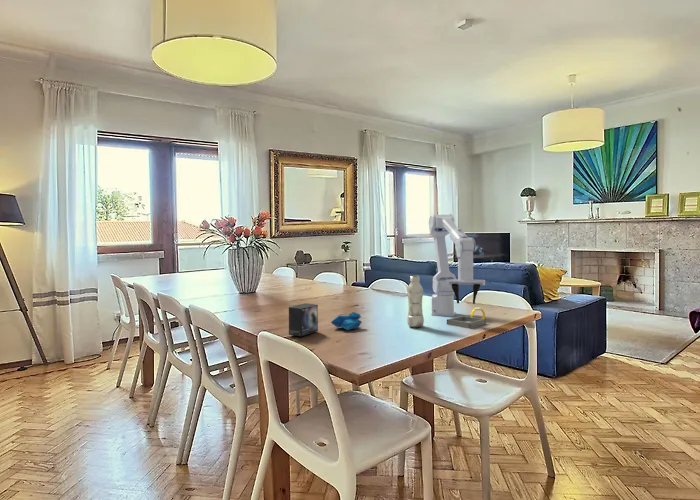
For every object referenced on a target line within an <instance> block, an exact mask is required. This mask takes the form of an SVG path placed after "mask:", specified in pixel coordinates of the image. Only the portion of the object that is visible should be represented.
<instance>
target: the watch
mask: <svg viewBox="0 0 700 500" xmlns="http://www.w3.org/2000/svg"><path fill="white" fill-rule="evenodd" d="M476 311H481V312H482V317H481V318H482V319H486V312H485V311H484V309H483V308H482V307H479V306H478V307H473V309H472V310H471V312H470V317H474V313H475V312H476Z"/></svg>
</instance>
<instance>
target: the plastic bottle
mask: <svg viewBox="0 0 700 500" xmlns="http://www.w3.org/2000/svg"><path fill="white" fill-rule="evenodd" d="M409 277H410V278H409V281H410V283H409V284H408V286H407V288H406V295H407V299H408V300H407V303H408V309H407V310H408V313H407V320H406V321H407V325H408V327H410V328H422V327H423V326H424V322H425V319H424V314H423V295H424V287H423V285H421V282H420V281H421V279H420V275H410V276H409Z"/></svg>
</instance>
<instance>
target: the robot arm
mask: <svg viewBox="0 0 700 500" xmlns="http://www.w3.org/2000/svg"><path fill="white" fill-rule="evenodd" d="M428 226H429V235H432V236H433V242H434V249H435V250H434V251H435V258H436V266H437V273H436V274H435V275H434V276H433V277H432V291H433V292H434V293H433V294H432V295H431V315H432V316H438V317H439V316H443V317H448V316H449V317H455V315H456V311H455V310H454V309H455V306H454V305H455V299H456V304H460V295H459V291H460V290H459V289H460V286H464V285H465V286H472V292H473V293H472V294H473V295H472V304H473V305H475V304H476V298H477V295H478V292H479V290H480V287H481V286H486V280H485V279H474V252H475V251H476V248H477V245H476V240H475V238H474V237H469V236H468V235H467V234H466V233H465V231H463V229H462V227H461V228H460V227H457V225H456V224H455V217H454V216H453V214H450V213H449V214H434V213H432V214H431V215H430V216H429V219H428ZM447 235H449V237H450V240H451V241H452V242H453V243H454V245H455V246H454V248H455V251H456V252H455V253H456V258H457V277H456V274H454V273H452V271H450V266H449V265H450V264H449V258H448V252H447V242H446V236H447ZM457 278H458V279H457Z"/></svg>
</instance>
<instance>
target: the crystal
mask: <svg viewBox="0 0 700 500" xmlns="http://www.w3.org/2000/svg"><path fill="white" fill-rule="evenodd" d="M361 317H362V316H361V314H360V313H358V312H354V311H351V312H350V313H349V314H348V315H337V316H336V317H334V319H332V320H331V322H330V323H331V324H332V325H333V326H335V327H336V328H338V329H339V328H342V329H344V330H346V331H349V330H352V329H356V328H359V327H360V326H361V324H362V321H361V320H360V318H361Z"/></svg>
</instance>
